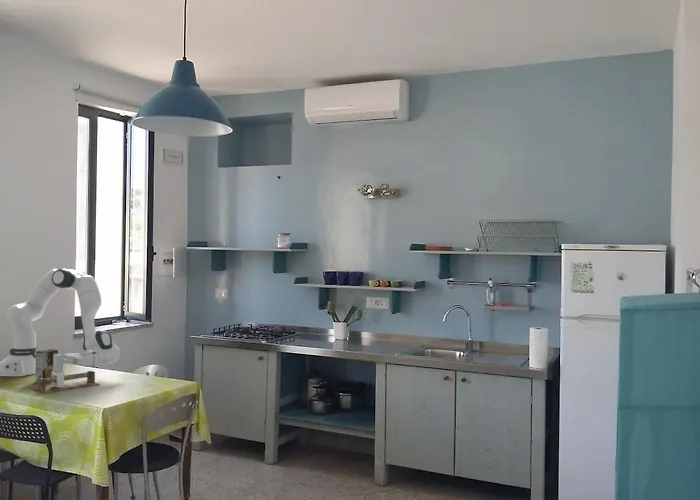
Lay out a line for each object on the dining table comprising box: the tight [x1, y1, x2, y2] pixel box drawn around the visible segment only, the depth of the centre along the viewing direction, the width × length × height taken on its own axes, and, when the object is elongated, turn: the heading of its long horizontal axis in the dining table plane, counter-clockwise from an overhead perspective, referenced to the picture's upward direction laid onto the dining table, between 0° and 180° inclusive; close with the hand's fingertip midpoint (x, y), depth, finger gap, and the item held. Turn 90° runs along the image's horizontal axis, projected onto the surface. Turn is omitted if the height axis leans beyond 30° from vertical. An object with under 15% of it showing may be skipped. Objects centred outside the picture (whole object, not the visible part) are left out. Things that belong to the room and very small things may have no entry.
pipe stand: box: [32, 370, 100, 395], centre depth 322 cm, size 28×12×6 cm, turn 139°
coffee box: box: [34, 348, 59, 383], centre depth 336 cm, size 9×6×16 cm
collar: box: [51, 353, 65, 388], centre depth 319 cm, size 3×7×16 cm, turn 49°
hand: (62, 361), depth 320 cm, fingers closed
